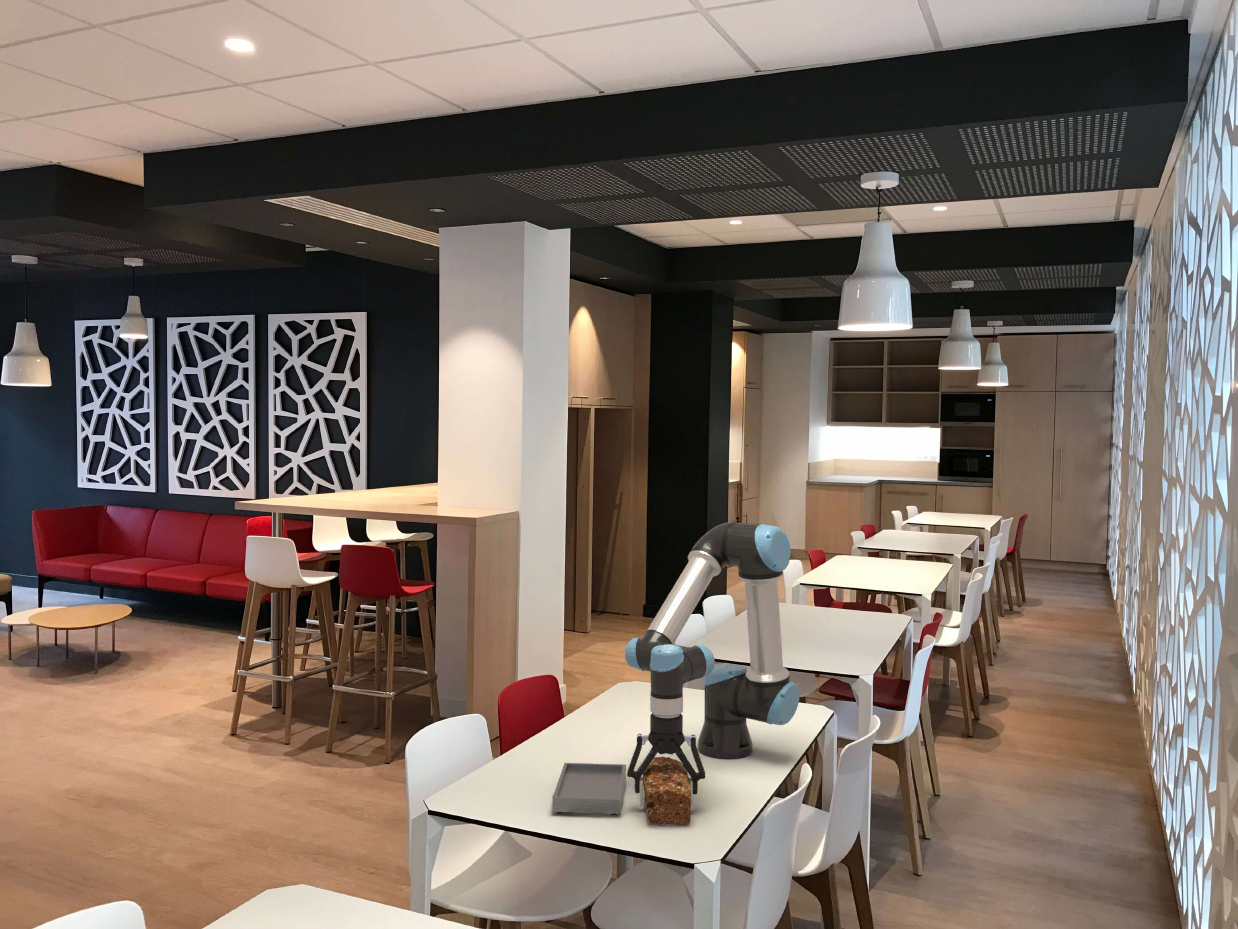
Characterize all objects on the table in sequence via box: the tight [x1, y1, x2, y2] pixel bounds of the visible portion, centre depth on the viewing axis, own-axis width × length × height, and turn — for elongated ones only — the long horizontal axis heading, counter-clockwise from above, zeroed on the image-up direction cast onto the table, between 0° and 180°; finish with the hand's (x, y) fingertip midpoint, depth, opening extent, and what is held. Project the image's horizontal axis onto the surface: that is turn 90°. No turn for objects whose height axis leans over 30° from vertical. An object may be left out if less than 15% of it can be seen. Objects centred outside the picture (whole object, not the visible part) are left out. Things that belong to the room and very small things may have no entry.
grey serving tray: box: [551, 762, 627, 816], centre depth 231 cm, size 16×24×4 cm, turn 176°
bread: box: [642, 755, 692, 826], centre depth 223 cm, size 19×11×10 cm, turn 0°
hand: (666, 807), depth 223 cm, fingers closed on bread, 11 cm apart
